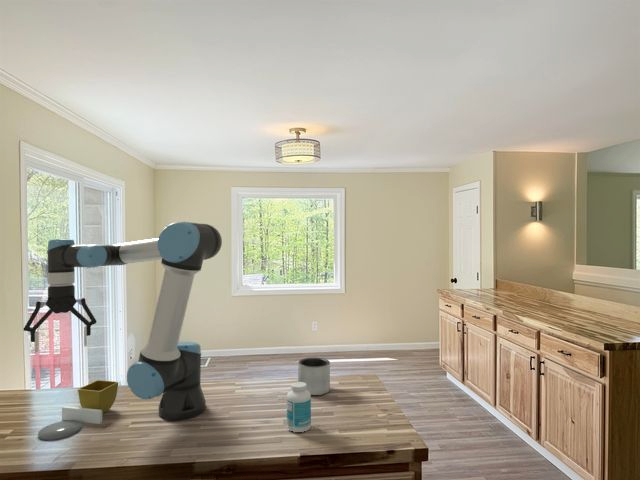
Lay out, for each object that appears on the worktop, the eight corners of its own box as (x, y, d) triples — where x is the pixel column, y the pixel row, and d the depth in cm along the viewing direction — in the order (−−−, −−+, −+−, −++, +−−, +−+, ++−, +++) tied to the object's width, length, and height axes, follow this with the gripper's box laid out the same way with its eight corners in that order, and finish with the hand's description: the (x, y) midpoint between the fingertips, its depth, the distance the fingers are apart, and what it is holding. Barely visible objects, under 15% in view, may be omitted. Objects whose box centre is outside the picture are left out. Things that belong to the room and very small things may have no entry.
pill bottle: (314, 424, 123) (314, 381, 123) (305, 435, 116) (306, 390, 116) (292, 421, 125) (292, 379, 125) (282, 431, 118) (283, 386, 118)
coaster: (90, 424, 122) (90, 422, 122) (60, 442, 111) (60, 439, 111) (60, 421, 124) (60, 418, 124) (28, 438, 113) (28, 435, 114)
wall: (102, 422, 124) (102, 409, 124) (99, 423, 123) (99, 411, 123) (64, 418, 126) (64, 406, 126) (61, 419, 125) (62, 407, 125)
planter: (294, 395, 146) (294, 366, 146) (301, 383, 159) (301, 356, 159) (327, 398, 144) (327, 367, 144) (332, 386, 157) (332, 358, 157)
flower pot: (99, 418, 126) (100, 391, 126) (76, 416, 128) (77, 388, 128) (118, 407, 135) (119, 381, 135) (97, 405, 136) (97, 379, 137)
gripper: (103, 281, 140) (103, 340, 140) (16, 286, 127) (16, 351, 127) (104, 283, 134) (104, 345, 134) (12, 288, 121) (12, 357, 121)
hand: (61, 348), depth 130 cm, fingers open, 13 cm apart
